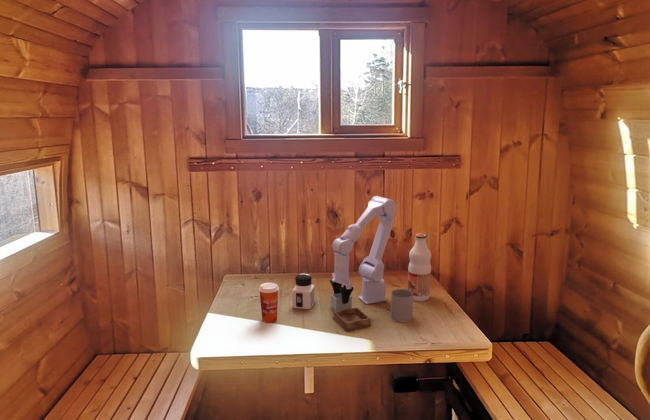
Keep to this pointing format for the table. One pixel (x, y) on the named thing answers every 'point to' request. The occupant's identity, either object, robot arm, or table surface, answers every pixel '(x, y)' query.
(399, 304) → the cup
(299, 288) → the container
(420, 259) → the fruit juice
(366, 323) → the walnut crate
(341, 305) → the gray crate
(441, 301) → the table surface
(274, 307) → the paper cup
